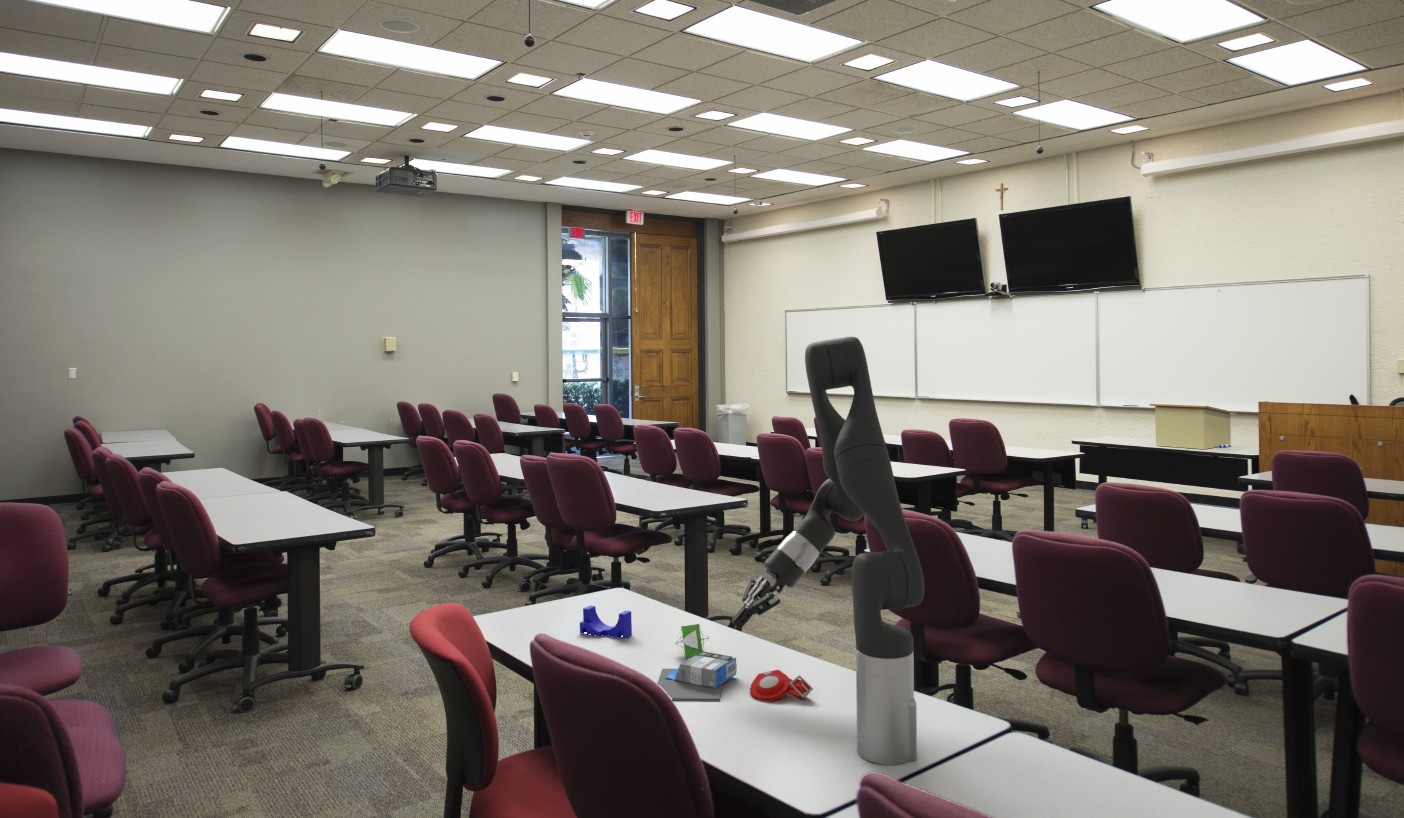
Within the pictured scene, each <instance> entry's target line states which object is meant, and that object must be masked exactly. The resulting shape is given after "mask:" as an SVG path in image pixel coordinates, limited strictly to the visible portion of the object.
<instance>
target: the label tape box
mask: <svg viewBox="0 0 1404 818" xmlns="http://www.w3.org/2000/svg"><path fill="white" fill-rule="evenodd" d="M737 666H738V665H737V657H736V656H732V655H726V654H722V653H721V654H719V653H715V652H707V651H705V650H703V651H702V652H701V653H699V654H697V655H695V656H692V657H691V658H688V659H687V660H685V661H683V662H682V663H680V664H679V667H678V668H675V669H676V670H675V671H673V672H672V673H670V674H668V675H666V676H665V677H666V678H669V679H672V680H677V681H682V682H687V683H692V684H697V685H702V686H707V687H713V688H716V687H718V686H719V685H721V684H722V685H723V684H724V683H726V682H727V681H729V680H730V679H731V678H732V677H734V676H737Z"/></svg>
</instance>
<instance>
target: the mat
mask: <svg viewBox="0 0 1404 818" xmlns="http://www.w3.org/2000/svg"><path fill="white" fill-rule="evenodd" d="M676 669H677V668H662V669H661V672H660V675H659V678H658V681H657V682H656V683H657V684H658V685H660V686H661V687H662V688H663V689H664V690H665V691H666V692H667V694H668V695H669V696H670V697H671V698H672V699H673V700H672V701H699V702H700V701H701V702H703V701H709V702H710V701H712V702H713V701H714V702H720V699H721V694H722V687H723V683H722V684H721V685H719V686H718V687H716V688H713V687H707V686H702V685H697V684H692V683H687V682H682V681H677V680H672V679H669V678H666V677H665V676H666V675H668V674H670V673H672V672H673V671H675V670H676ZM657 684H656V685H657Z"/></svg>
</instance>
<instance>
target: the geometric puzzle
mask: <svg viewBox="0 0 1404 818" xmlns="http://www.w3.org/2000/svg"><path fill="white" fill-rule="evenodd" d="M680 628H681V636H680V638H679V639H678V637H677V636H679V635H680V633H679V634H678V635H677V636H676V638H677V639H678V640H676V641H675V643H674V644H675V645H676V646H677V647H678V646H679V647H678V648H679V649H680V647H681V648H682V651H683V652H684V653H682V654H683V655H684V657H685V659H686V658H689V657H691V658H692V657H694V656H695V655H697V654H699V653H701V652H702V651H704V650H705V649H706V648H707V647H705V648H704V646H705V645H704V644H705V642H704V641H705V640H709V635H708V634H707V636H706V634H703V633H702V629H703V628H702V627H701V625H700V623H698V624H688V625H681V626H680ZM701 628H702V629H701ZM704 633H706V632H705V631H704ZM703 635H704V636H705V638H703V637H704V636H703ZM702 642H703V643H702ZM679 643H680V644H681V645H680V644H679ZM682 644H683V645H682Z"/></svg>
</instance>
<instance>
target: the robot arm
mask: <svg viewBox="0 0 1404 818" xmlns="http://www.w3.org/2000/svg"><path fill="white" fill-rule="evenodd" d="M867 361H868V360H867V356H866V352H865V349H864V347H863V344H862V342H861V341H860V338H858V337H857V336H844V337H838V338H832V339H831V338H830V339H826V340H819V341H815V342H811V343H809V344H807V346H806V347H805V351H804V365H805V371H806V372H805V373H806V377H807V381H808V382H807V383H808V388H809V393H810V397H811V402H812V407H813V412H814V415H815V420H816V423H817V427H818V428H817V429H818V433H819V436H820V444H821V454H822V464H823V465H822V466H823V471H824V473H825V475H826V476H827V477H828V479H826V480H825V481H824V482H822V484H821V485H820V486H819V488H818V490H817V492H816V494H815V495H814V496H815V497H814V499H813V501H812V503H811V504H810V506H809V509H808V511H807V513H806V515H805V517H804V518H802V520H801V521H799V524H797V525H796V527H795V528H794V529H793V530H792V531H791V532H790V533H789V534H788V535H787V536H785V538H784V539H783V540H782V541H781V542H780V543H779V545H778V546H777V547H776V548H775V549H774V551H773V552H771V554H770V555H769V556H768V557H767V558H766V560H765V561H764V562H763V566H764V568H766V571H765V572H764V573H763V574H761V575H760V576H759V577H758V578H757V580H755V579H754V578H751V579H750V580H749V582H748V584H747V586H746V589H745V591H744V593H743V596H742V598H741V601H742V607H741V608H740V609H739V610H738V611H737V613H736V614H735V615H734V616H733V617H732V619H731V623H732V624H734V626H735V627H737V628H738V629H743V627H745V625H746V624H747V622H749V621H750V619H751V618H752V617H753V616H756V615H758V616H761V615H763V614H764V613H767V612H768V611H770V610H772V609H773V608H775V607H776V606H778V605H779V604H780V603H781V601H782V600H781V599H780V598H779V595H780V594H781V593H782V592H783V589H785V588H784V587H787V588H789V589H793V588H794V587H795V585H796V584H797V583H798V582H799V581H800V580H801V579H802V577H803V576H804V575H805V574H806V572H807V571H808V570H809V569H810V568H811V566H812V565H813V564H814V563H815V562H816V560H817V558H818V557H819V555H820V554H821V553H822V552H823V550H824V549H825V548H826V547H827V546H828V544H829V543H831V541H832V540H833V539H834V537H835V535H836V530H835V527H834V526H833V525H832V523H831V522H830V521H829V519H830V517H831V513H832V512H833V513H834V514H835V515H837V516H838V517H840V518H842V519H843V520H846V521H849V522H856V521H859V520H860V519H862V518H863V517H864V516H866V517H867V518H868V519H869V520H870V521H871V523H872V524H873V526H874V527H875V528H876V529H877V531H878V532H879V535H880V537H881V539H882V541H883V543H884V546H885V549H886V551H873V552H871V551H870V552H863V553H859V554H857V555H856V556H855V557H854V560H853V561H852V566H851V577H850V578H851V592H852V593H851V595H852V604H853V605H852V606H853V607H852V608H853V609H852V610H853V628H854V635H855V680H856V681H855V683H856V688H855V690H856V691H855V692H856V695H855V696H856V752H857V753H858V755H859V756H860V757H862V758H863V759H865V760H867V761H869V762H872V763H876V764H881V765H900V764H905V763H907V762H909V761H914V762H915V761H917V760H918V754H917V753H918V749H917V748H918V745H917V744H918V742H917V741H918V740H917V738H918V737H917V734H918V733H917V731H918V730H917V725H918V724H917V722H918V721H917V719H918V718H917V715H918V714H917V702H916V699H915V697H914V696H915V690H914V689H915V681H914V680H915V679H914V678H915V677H914V676H915V675H914V674H915V671H914V667H915V666H914V663H915V661H914V658H915V657H914V650H915V649H914V646H915V645H914V636H913V634H912V633H911V631H909V630H908V629H906V628H904V627H902V626H901V625H900V626H899V625H896V624H892V623H889V622H886V621H884V620H883V619H882V614H881V613H882V611H881V610H883V611H884V610H895V609H905V608H913V607H917V606H919V605H920V604H921V603H922V602H923V600H924V596H925V577H924V574H923V568H922V566H921V562H920V559H919V556H918V552H917V550H916V547H915V544H914V541H913V539H912V535H911V533H910V530H909V527H908V524H907V522H906V519H905V515H904V513H903V508H902V506H901V502H900V499H899V494H898V490H897V486H896V480H895V477H894V471H893V467H892V462H891V458H890V455H889V450H888V447H887V445H886V444H887V443H886V441H885V437H884V434H883V431H882V426H881V424H880V420H879V417H878V412H877V409H876V408H877V407H876V403H875V398H874V394H873V393H874V392H873V388H872V383H871V379H870V378H871V377H870V373H869V365H868V362H867ZM846 387H847V388H848V387H851V388H852V389H853V397H852V400H851V401H852V402H851V404H850V407H849V408H850V409H849V412H848V414H847V416H846V418H843V417H842V416H841V414H840V413H839V412H838V410H836V409H835V407H834V406H833V404H832V403H831V401H830V399H829V397H828V393H827V390H832V389H833V390H834V389H840V388H846ZM904 762H905V763H904Z"/></svg>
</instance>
